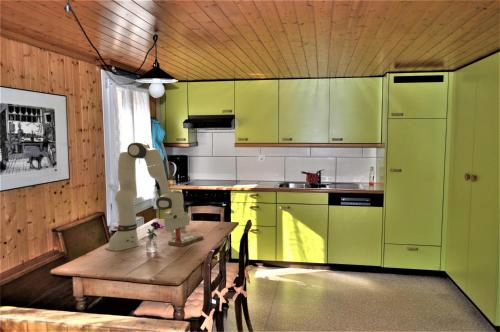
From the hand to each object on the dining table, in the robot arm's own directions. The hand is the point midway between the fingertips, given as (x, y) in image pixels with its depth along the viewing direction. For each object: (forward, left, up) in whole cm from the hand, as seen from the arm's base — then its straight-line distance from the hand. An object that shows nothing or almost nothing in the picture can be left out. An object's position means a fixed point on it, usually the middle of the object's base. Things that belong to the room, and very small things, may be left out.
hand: (178, 234), depth 265 cm
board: (+8, 0, -7) cm, 11 cm away
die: (+13, +14, -7) cm, 21 cm away
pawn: (0, 0, -5) cm, 5 cm away
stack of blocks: (+33, +35, -7) cm, 48 cm away
